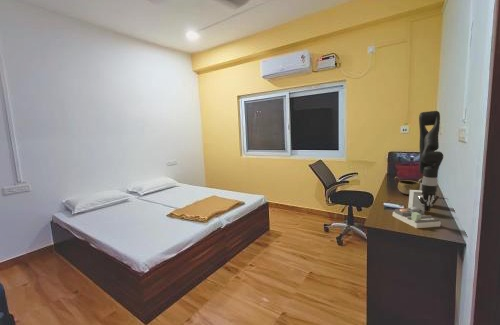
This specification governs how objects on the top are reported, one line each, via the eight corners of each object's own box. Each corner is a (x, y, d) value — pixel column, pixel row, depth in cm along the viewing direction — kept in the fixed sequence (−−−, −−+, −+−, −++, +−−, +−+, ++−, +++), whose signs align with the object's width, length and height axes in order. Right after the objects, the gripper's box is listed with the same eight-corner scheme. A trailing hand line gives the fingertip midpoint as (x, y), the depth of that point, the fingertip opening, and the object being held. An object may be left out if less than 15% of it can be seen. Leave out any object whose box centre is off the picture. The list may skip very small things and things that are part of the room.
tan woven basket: (422, 193, 215) (424, 177, 213) (424, 198, 201) (425, 180, 199) (393, 190, 227) (394, 174, 225) (393, 194, 213) (394, 178, 210)
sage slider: (411, 219, 149) (411, 212, 149) (415, 218, 150) (416, 212, 149) (416, 221, 145) (416, 214, 145) (420, 221, 146) (421, 214, 145)
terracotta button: (397, 212, 161) (397, 209, 160) (404, 212, 161) (404, 208, 161) (403, 215, 156) (403, 211, 155) (410, 214, 156) (410, 211, 156)
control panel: (392, 216, 163) (393, 208, 162) (413, 214, 165) (414, 207, 165) (416, 228, 144) (417, 219, 143) (440, 226, 146) (441, 217, 145)
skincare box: (411, 212, 170) (413, 191, 168) (407, 209, 176) (409, 189, 173) (424, 212, 169) (426, 192, 166) (419, 209, 174) (421, 189, 172)
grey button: (408, 210, 161) (408, 206, 161) (415, 209, 162) (415, 206, 162) (414, 212, 156) (414, 209, 156) (421, 212, 157) (422, 208, 157)
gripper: (433, 181, 151) (431, 208, 154) (414, 183, 150) (412, 209, 153) (444, 184, 144) (442, 212, 147) (424, 186, 142) (422, 213, 145)
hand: (427, 210), depth 150 cm, fingers closed
